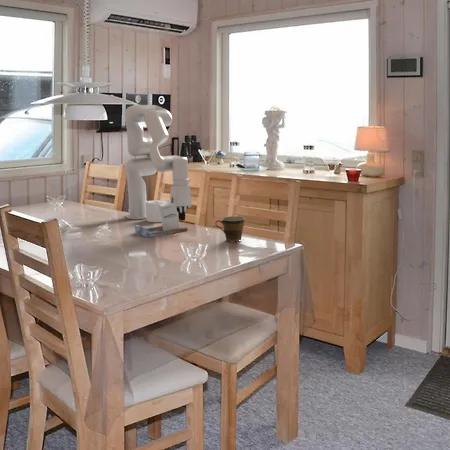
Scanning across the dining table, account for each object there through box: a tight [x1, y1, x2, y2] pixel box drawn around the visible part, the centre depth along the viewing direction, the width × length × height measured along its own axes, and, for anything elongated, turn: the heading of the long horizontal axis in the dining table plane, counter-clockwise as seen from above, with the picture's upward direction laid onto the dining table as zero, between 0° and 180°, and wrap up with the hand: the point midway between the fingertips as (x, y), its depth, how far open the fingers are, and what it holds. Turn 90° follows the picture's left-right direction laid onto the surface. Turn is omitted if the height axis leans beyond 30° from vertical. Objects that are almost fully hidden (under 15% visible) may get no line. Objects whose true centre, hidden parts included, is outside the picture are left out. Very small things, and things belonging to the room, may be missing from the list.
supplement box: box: [159, 203, 181, 231], centre depth 297 cm, size 7×7×13 cm
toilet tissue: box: [146, 199, 170, 223], centre depth 323 cm, size 11×12×10 cm
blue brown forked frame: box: [134, 224, 189, 238], centre depth 295 cm, size 12×22×4 cm, turn 126°
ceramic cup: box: [215, 216, 245, 242], centre depth 274 cm, size 13×10×10 cm
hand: (182, 220), depth 301 cm, fingers closed
